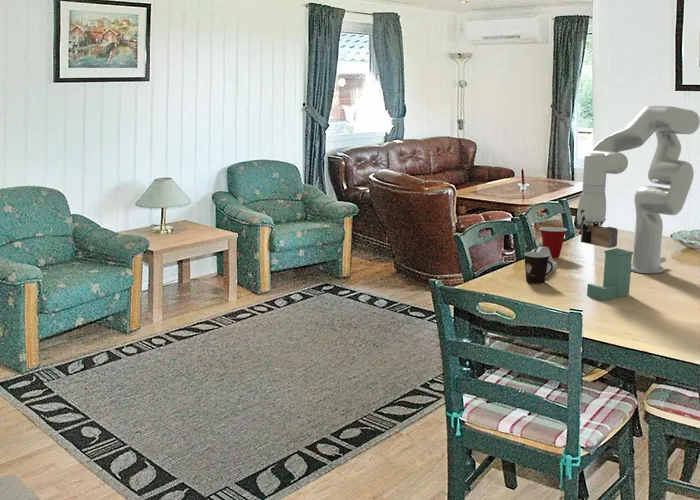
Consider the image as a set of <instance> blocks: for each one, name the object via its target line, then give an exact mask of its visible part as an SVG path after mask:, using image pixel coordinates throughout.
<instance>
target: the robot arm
mask: <svg viewBox="0 0 700 500" xmlns="http://www.w3.org/2000/svg"><path fill="white" fill-rule="evenodd" d="M699 127H700V116H699V114H698V113H697V112H696V111H694V110H691V109H687V108H686V109H685V108H682V107H677V106H669V105H648V106H645V107H643V109H642V110H641V111H640V112H639V113H638V114H637V115H636V116H634V118H633V119H632V120H631V121H630V122H629V123H628V124H627V125H626V127H624V128H623V129H621V130H619V131H616V132H614V133H612V134H611V135H608V136H607V137H604V138H602V139H601V140H600V141H598V142H597V143H596V144H595V145H594V147H592V149H591V150H590V151H589V153H586V154H585V155H584V160H583V173H582V174H583V176H582V193H580V195H579V199H578V205H577V215H576V220H577V225H578V226H579V227H580V228H582V231H583V237H582V241H583V242H586V243H585V244H587V243H590V242H591V232H590V228H591V225H596V226H601V227H603V224H604V223H605V222H606V220H607V218H606V216H607V215H606V214H607V199H606V198H607V197H606V185H607V175H608V174H612V175H619V174H621V173H624V172H625V171H626V170H627V168H628V165H629V160H628V158H627V156H626V155H625V154H624V153H622V152H624V151H630V150H633V149H634V150H635V149H637V148H641V147H642V146H643V145H644V144H645V143H646V141H648V140H649V139H650V138H651V136H653V134H654V133H655V136H656V140H657V141H656V143H657V144H656V145H657V146H656V149H655V152H654V154H653V157H652V159H651V163H650V165H649V169H648V172H647V178H648V180H649V181H650V182H651V183H653V184H656V185H661V186H653V185H643V186H641V187H640V188H637V190H636V191H635V194H634V200H633V201H634V208H635V209H634V210H635V226H634V241H633V251H632V252H633V254H632V263H631V272H635V273H638V274H639V273H640V274H649V275H653V274H654V275H655V274H661V273H663V272H664V271H665V270H664V267H663V266H661V264H662V263H666V262H667V258H666V257H665V256H664V257H661V253H662V252H661V251H662V239H663V238H662V237H663V229H664V225H663V218H662V216H661V215H666V216H675V215H678V214H680V212H681V211H682V209H683V207H684V205H685V204H686V201H687V200H686V199H687V198H688V195H689V191H690V189H691V187H692V184H693V181H694V180H693V179H694V173H695V172H694V168H693V165H692V164H691V163H690V162H689V161H686V160H679V157H680V156H681V153H682V152H681V151H682V144H681V141H680V139H679V137H678V136H677V135H693V134H694V133H695V132H696V131H698V130H699ZM663 186H669V188H668V187H663ZM586 224H588V225H587V226H586ZM583 242H582V243H583Z"/></svg>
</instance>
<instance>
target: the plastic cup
mask: <svg viewBox="0 0 700 500" xmlns="http://www.w3.org/2000/svg"><path fill="white" fill-rule="evenodd" d="M539 230H540V236H541V243H542V247H548V248H549V250H550V253H551V256H552V258H556V259H559V258H560V256H561V251H562V248H563V244H564V239H565V236H566V233H567V231H568V229H567V228H564V227H558V226H557V227H553V226H552V227H550V226H543V227H539ZM558 257H559V258H558Z"/></svg>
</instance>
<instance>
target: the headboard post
mask: <svg viewBox="0 0 700 500" xmlns="http://www.w3.org/2000/svg"><path fill="white" fill-rule="evenodd" d="M604 254H605V255H604V267H603V269H604V270H603V280H602V281H603V282H602V284H603V285H602V286H601V285H597V284H593V283H588V284H587V285H586V287H587V288H586V289H587V290H586V296H587V297H591V298H594V299H598V300H600V301H603V302H605V301H608V300H612V299H617V298H621V297H626V296H629V295H630V285H631V273H632V271H631V264H632V262H633V251H631V250H627V249H622V248H617V247H615V248H612V249H607V250H604Z"/></svg>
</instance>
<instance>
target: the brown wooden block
mask: <svg viewBox="0 0 700 500" xmlns="http://www.w3.org/2000/svg"><path fill="white" fill-rule="evenodd" d="M587 225H588V224H586V226H587ZM580 228H581V227H580ZM590 232H591V242H590V243H586V242H583V241H582V237H583V231H582V228H581V230H580V243H584V244H588V245H593V246H597V247H602V248H607V249H610V248H612V249H613V248H617V246H618V233H619V230H618V228H617V227H612V226H607V227H604V226H596V225H592V224H591V228H590Z"/></svg>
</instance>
